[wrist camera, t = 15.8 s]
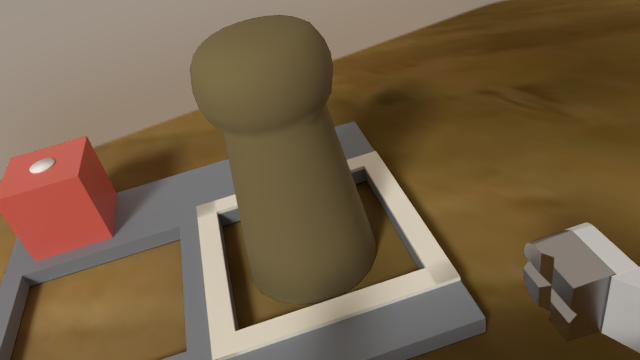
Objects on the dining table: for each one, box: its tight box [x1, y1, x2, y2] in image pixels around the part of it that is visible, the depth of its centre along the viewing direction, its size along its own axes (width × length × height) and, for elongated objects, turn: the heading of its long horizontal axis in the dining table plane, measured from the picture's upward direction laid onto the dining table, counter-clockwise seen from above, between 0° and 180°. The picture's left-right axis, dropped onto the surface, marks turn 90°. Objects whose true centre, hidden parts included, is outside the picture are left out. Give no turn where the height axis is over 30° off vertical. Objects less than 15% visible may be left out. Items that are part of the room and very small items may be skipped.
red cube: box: [0, 136, 117, 262], centre depth 28 cm, size 4×4×4 cm
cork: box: [190, 15, 376, 305], centre depth 22 cm, size 6×6×11 cm
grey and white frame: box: [0, 121, 486, 360], centre depth 25 cm, size 20×16×1 cm
